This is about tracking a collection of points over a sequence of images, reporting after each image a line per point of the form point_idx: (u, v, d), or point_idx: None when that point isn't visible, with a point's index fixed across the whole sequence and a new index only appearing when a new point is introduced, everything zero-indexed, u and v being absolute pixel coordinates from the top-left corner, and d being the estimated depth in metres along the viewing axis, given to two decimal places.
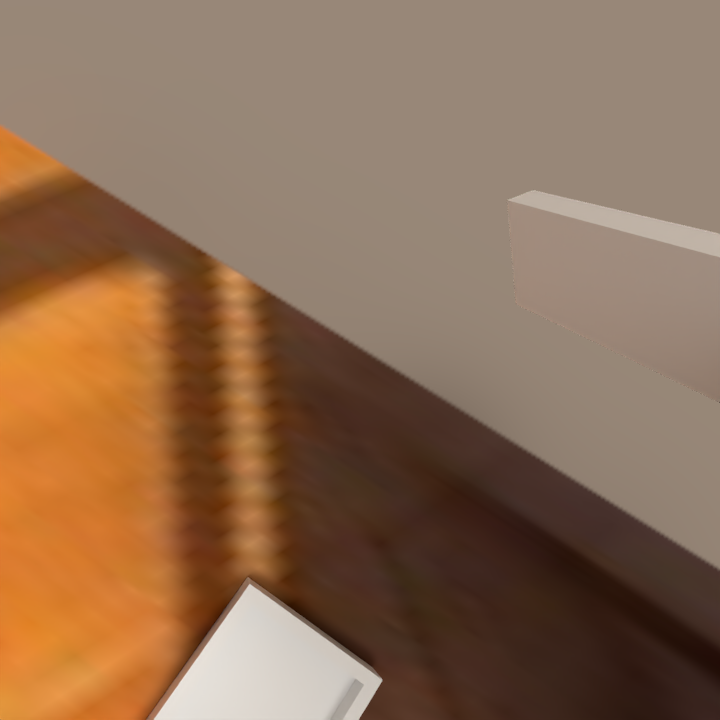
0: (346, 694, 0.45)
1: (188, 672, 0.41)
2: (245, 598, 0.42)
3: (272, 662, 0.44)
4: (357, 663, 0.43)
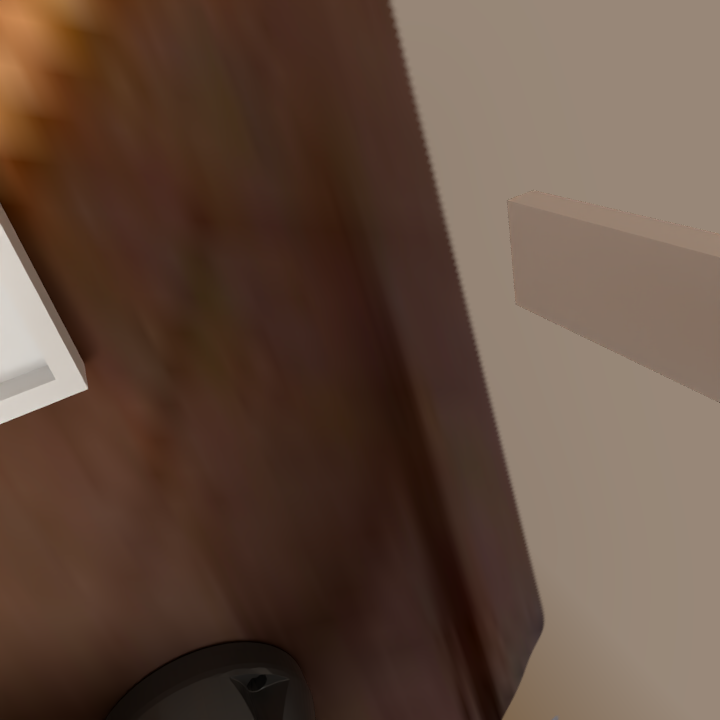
0: (21, 375, 0.28)
1: None
2: None
3: None
4: (63, 347, 0.26)
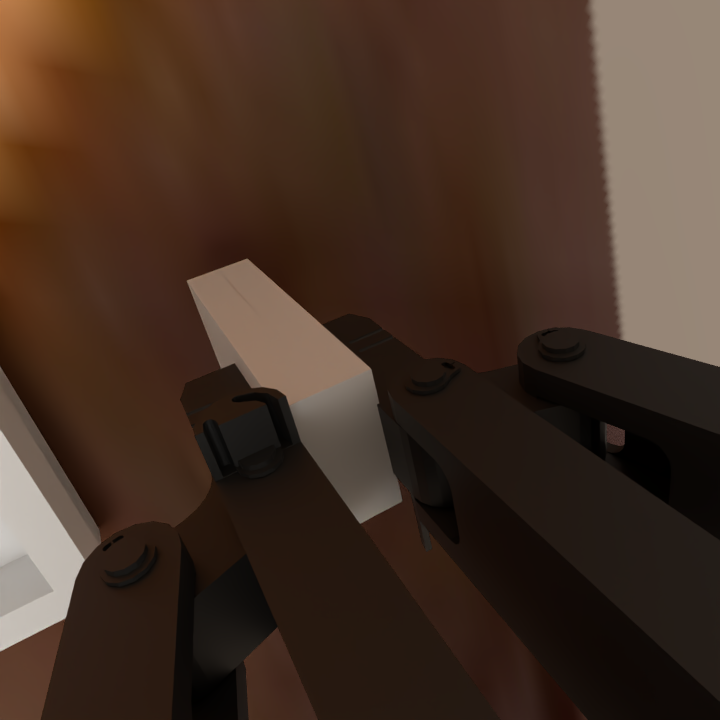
0: None
1: None
2: None
3: None
4: (67, 540, 0.15)
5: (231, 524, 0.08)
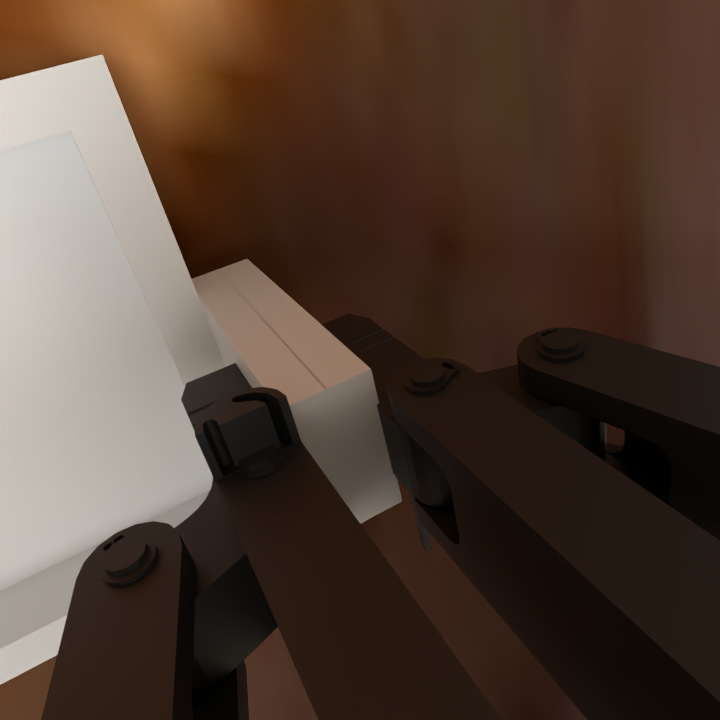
0: (178, 507, 0.17)
1: None
2: (56, 91, 0.10)
3: (30, 340, 0.14)
4: None
5: (231, 524, 0.08)
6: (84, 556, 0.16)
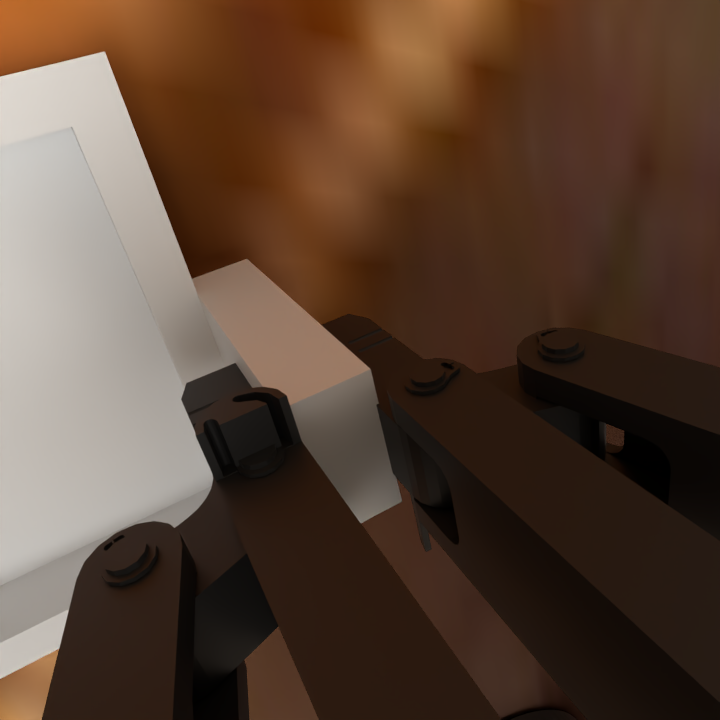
0: (175, 505, 0.17)
1: None
2: (58, 87, 0.10)
3: (29, 336, 0.14)
4: None
5: (232, 523, 0.08)
6: (80, 554, 0.16)
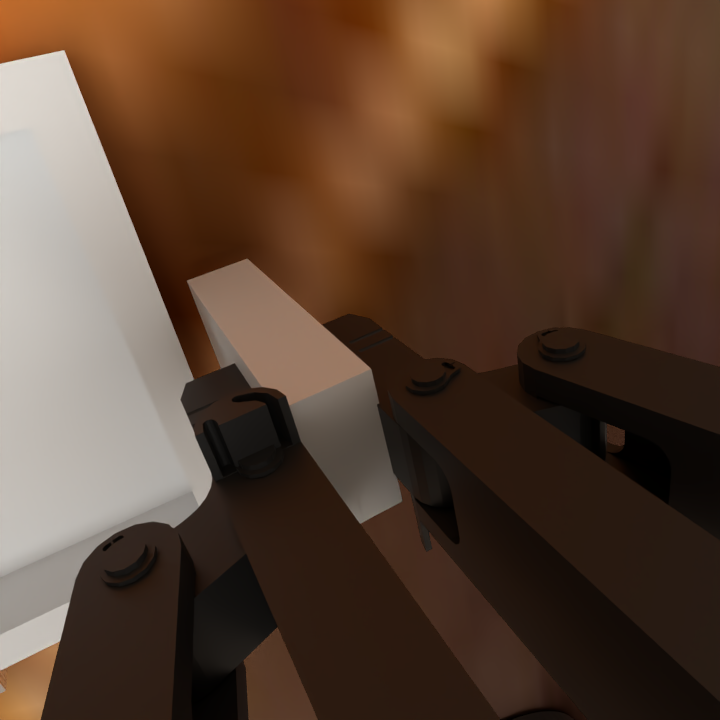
0: (143, 514, 0.16)
1: None
2: (14, 86, 0.10)
3: None
4: None
5: (231, 524, 0.08)
6: (44, 564, 0.16)
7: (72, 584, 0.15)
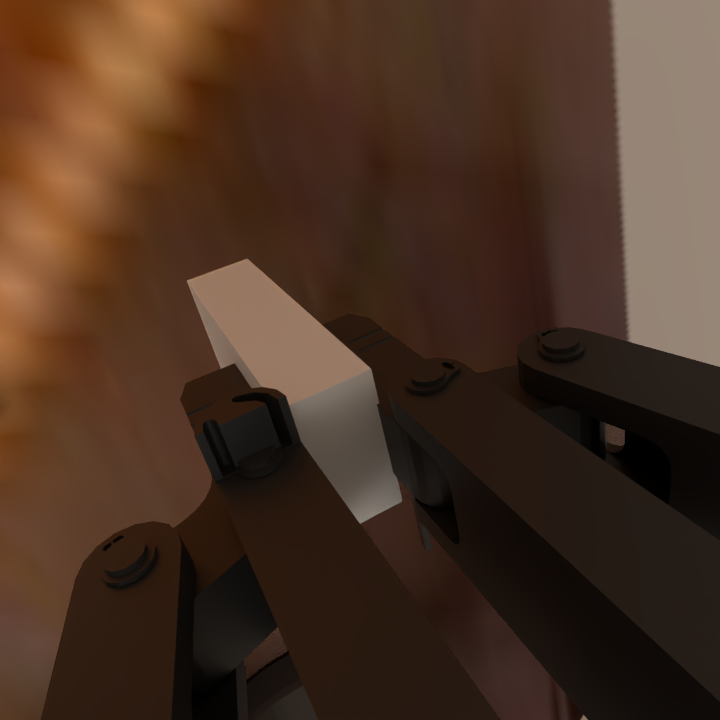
0: None
1: None
2: None
3: None
4: None
5: (231, 524, 0.08)
6: None
7: None
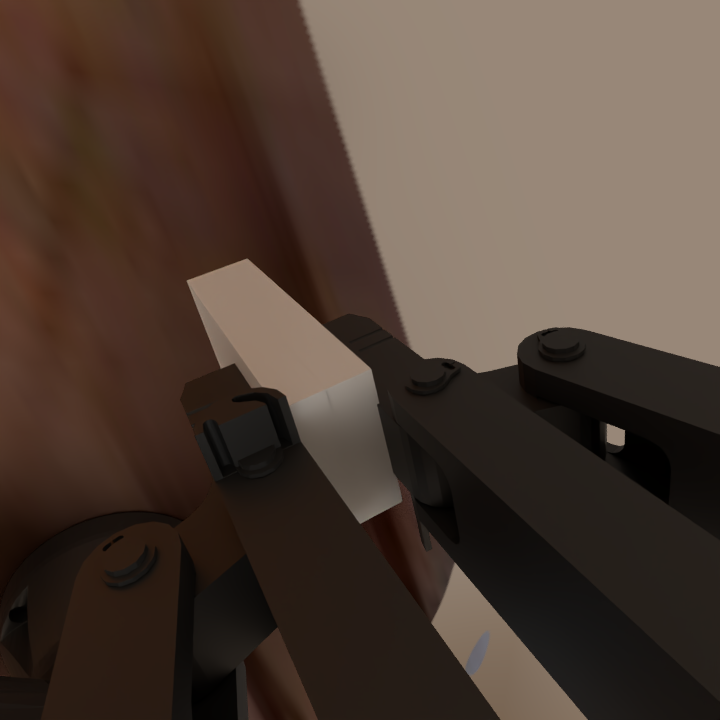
0: None
1: None
2: None
3: None
4: None
5: (231, 524, 0.08)
6: None
7: None
